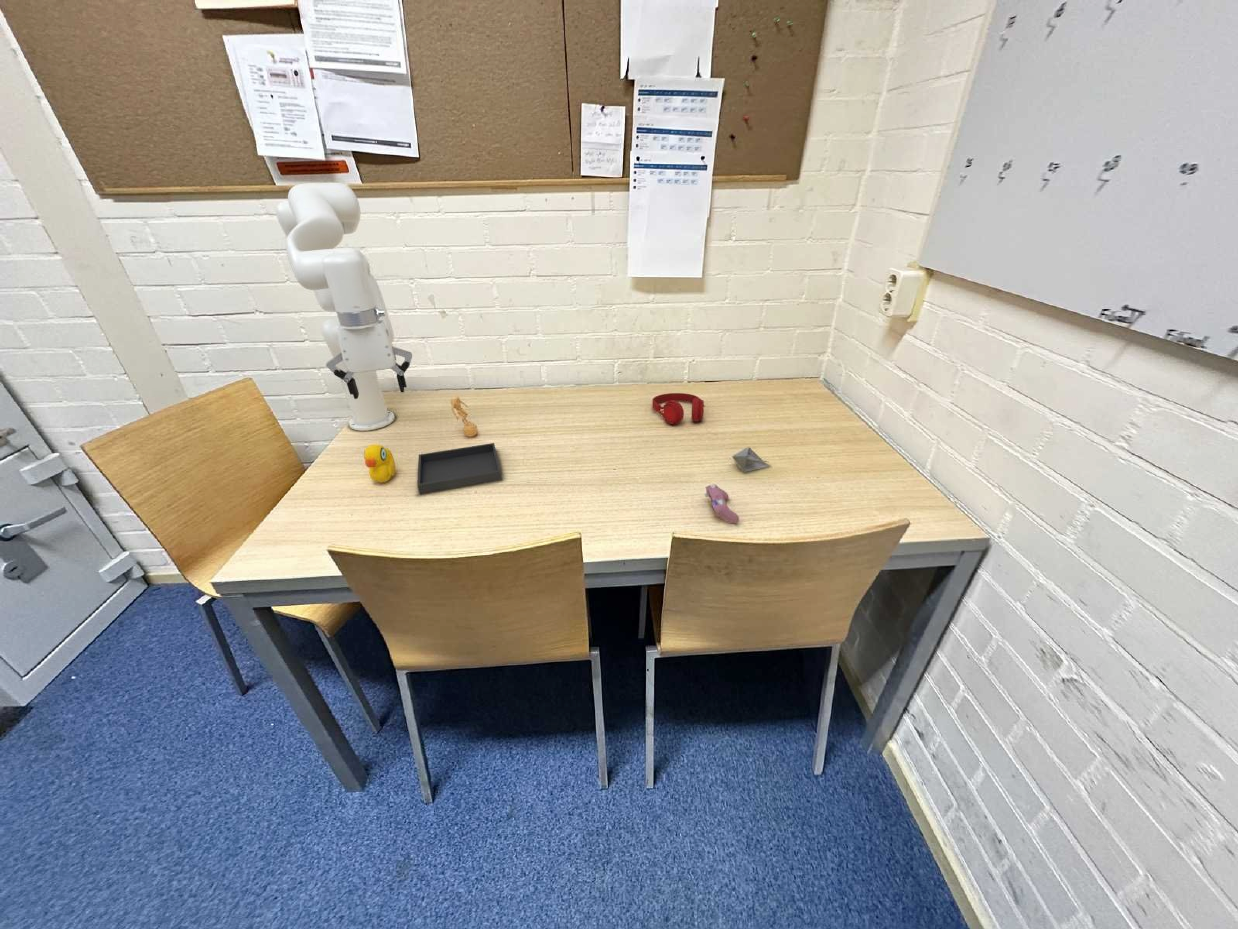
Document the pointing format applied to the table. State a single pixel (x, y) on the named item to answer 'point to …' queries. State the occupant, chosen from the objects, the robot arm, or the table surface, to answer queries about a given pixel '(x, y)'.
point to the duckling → (379, 463)
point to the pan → (458, 468)
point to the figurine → (469, 427)
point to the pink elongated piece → (721, 503)
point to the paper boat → (748, 460)
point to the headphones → (678, 407)
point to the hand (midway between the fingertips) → (379, 393)
